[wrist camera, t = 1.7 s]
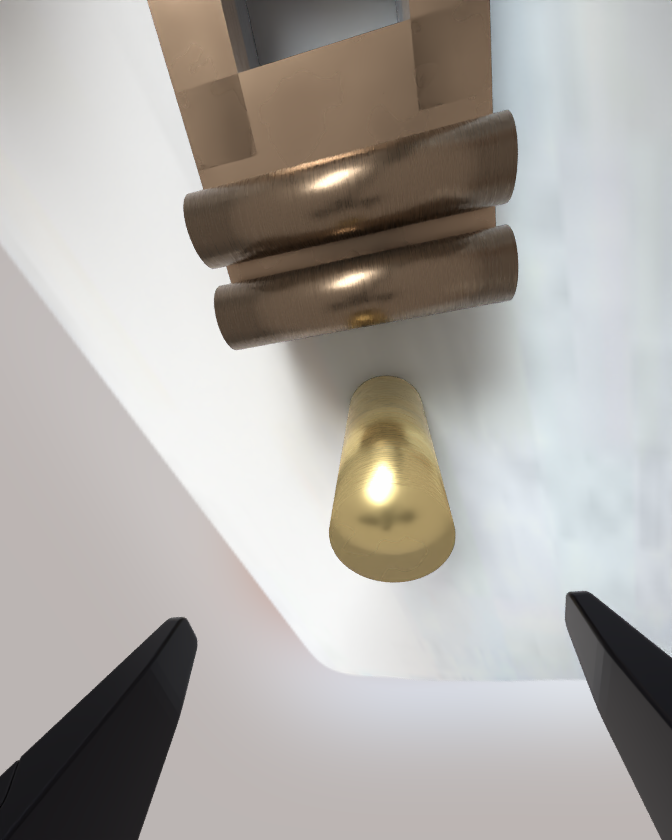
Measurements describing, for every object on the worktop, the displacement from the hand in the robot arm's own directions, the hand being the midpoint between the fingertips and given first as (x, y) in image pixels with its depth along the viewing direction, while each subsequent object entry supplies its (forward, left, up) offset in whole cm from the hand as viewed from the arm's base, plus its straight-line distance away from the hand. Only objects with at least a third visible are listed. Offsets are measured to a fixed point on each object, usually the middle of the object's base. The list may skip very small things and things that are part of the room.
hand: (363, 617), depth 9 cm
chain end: (-1, -13, -13) cm, 19 cm away
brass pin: (-1, +1, -13) cm, 13 cm away
